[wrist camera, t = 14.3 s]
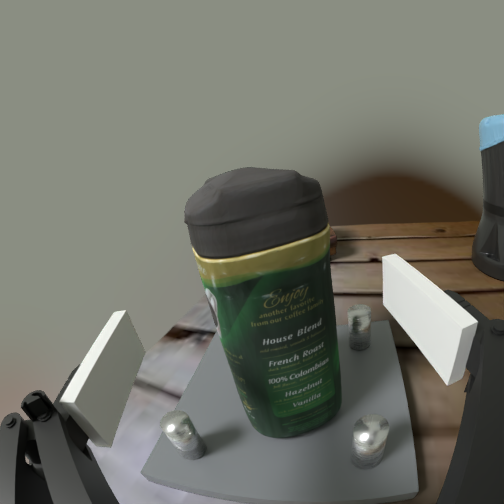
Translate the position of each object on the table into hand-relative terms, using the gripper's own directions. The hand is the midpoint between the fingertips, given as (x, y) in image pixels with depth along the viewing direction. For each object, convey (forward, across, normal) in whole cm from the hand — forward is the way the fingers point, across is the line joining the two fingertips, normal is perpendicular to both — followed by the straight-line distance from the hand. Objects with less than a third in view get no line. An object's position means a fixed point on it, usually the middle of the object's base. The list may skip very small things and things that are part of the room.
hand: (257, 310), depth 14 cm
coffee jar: (+5, +1, -12) cm, 14 cm away
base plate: (+5, 0, -14) cm, 15 cm away
